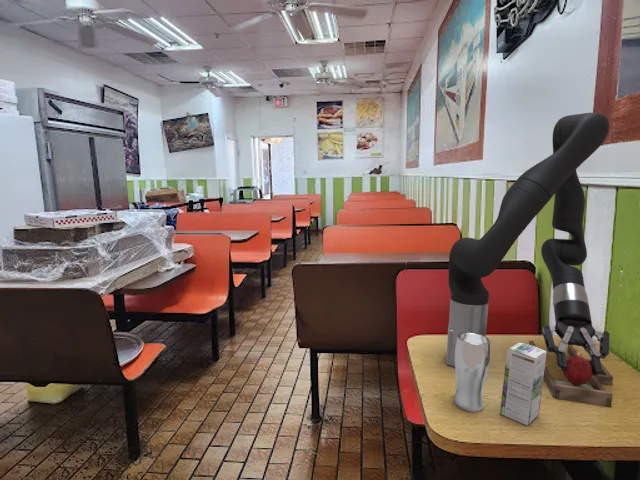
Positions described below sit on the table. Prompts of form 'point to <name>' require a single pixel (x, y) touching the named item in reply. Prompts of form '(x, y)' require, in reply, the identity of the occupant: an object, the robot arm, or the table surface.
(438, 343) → the table surface
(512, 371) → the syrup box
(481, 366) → the beer glass
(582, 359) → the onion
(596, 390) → the zigzag wooden tray
